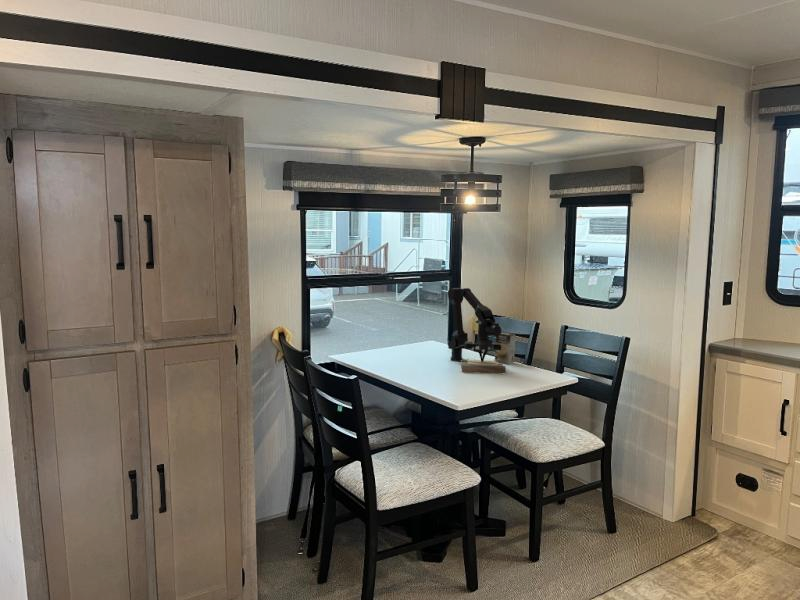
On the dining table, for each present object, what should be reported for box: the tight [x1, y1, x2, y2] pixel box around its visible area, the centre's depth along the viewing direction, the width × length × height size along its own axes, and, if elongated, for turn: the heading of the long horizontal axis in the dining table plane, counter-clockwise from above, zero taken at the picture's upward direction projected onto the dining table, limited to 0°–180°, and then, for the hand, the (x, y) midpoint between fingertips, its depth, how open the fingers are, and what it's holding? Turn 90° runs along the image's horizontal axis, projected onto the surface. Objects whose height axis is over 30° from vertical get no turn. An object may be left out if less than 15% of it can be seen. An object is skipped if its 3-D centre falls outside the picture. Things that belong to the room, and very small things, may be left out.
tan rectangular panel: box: [467, 359, 498, 366], centre depth 311 cm, size 10×15×2 cm, turn 86°
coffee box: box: [494, 331, 517, 365], centre depth 325 cm, size 9×6×16 cm
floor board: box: [460, 361, 506, 374], centre depth 309 cm, size 16×22×3 cm
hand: (482, 361), depth 313 cm, fingers closed, pressing on tan rectangular panel
